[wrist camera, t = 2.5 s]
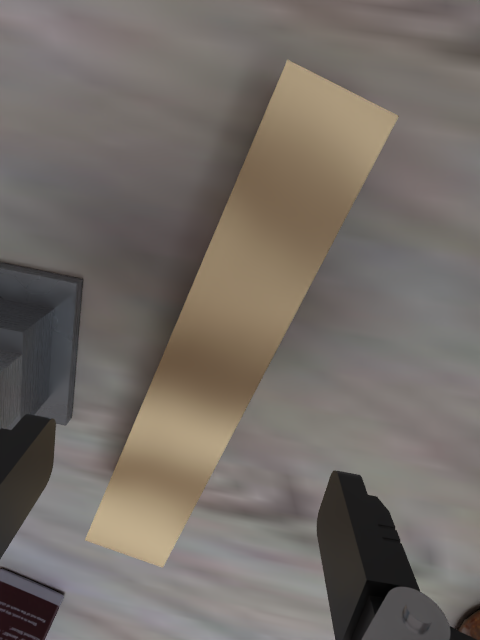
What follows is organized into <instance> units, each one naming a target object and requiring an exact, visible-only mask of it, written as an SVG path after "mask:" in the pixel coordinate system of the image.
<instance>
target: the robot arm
mask: <svg viewBox="0 0 480 640" xmlns="http://www.w3.org/2000/svg"><path fill="white" fill-rule="evenodd" d="M55 429H56V422H55V419H54V418H48V417H43V416H37V415H32V414H26V415H24V416H23V417H22V419H21V420H20V421H19V422H18V423H17V424H16V425H15V426H14V428H13V429H12V430H9V429H3V428H1V429H0V559H1V557H2V555H3V554H4V552H5V551H6V549H7V547H8V546H9V544H10V543H11V541H12V539H13V538H14V536H15V535H16V533H17V531H18V530H19V528H20V527H21V525H22V524H23V522H24V520H25V519H26V517H27V516H28V514H29V512H30V511H31V509H32V508H33V506H34V504H35V503H36V501H37V500H38V498H39V496H40V495H41V493H42V492H43V490H44V488H45V487H46V485H47V483H48V481H49V478H50V475H51V472H52V468H53V460H54V445H55ZM317 537H318V542H319V548H320V554H321V560H322V565H323V571H324V577H325V583H326V588H327V594H328V600H329V606H330V611H331V617H332V623H333V629H334V634H335V640H477V639H475V638H473V637H471V636H468V635H466V634H464V633H462V632H460V631H458V630H456V629H454V628H452V627H451V626H449V623H448V620H447V618H446V616H445V615H444V613H443V612H442V610H441V609H440V608H439V606H438V605H437V604H436V603H435V602H434V601H433V600H432V599H430V598H429V597H428V596H426V595H425V594H423V593H422V592H420V590H419V587H418V584H417V582H416V579H415V577H414V574H413V572H412V569H411V566H410V564H409V561H408V559H407V556H406V554H405V551H404V548H403V546H402V544H401V543H400V538H399V536H398V533H397V530H395V525H394V523H393V520H392V518H391V515H390V512H389V511H388V510H387V508H386V507H385V506H384V505H383V504H382V502H381V501H380V500H379V499H378V498H377V497H376V496H371V495H368V494H367V491H366V488H365V485H364V482H363V480H362V477H361V476H360V475H357V474H351V473H346V472H340V471H333V472H332V474H331V476H330V479H329V482H328V485H327V488H326V491H325V494H324V497H323V500H322V503H321V506H320V509H319V513H318V518H317Z"/></svg>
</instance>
